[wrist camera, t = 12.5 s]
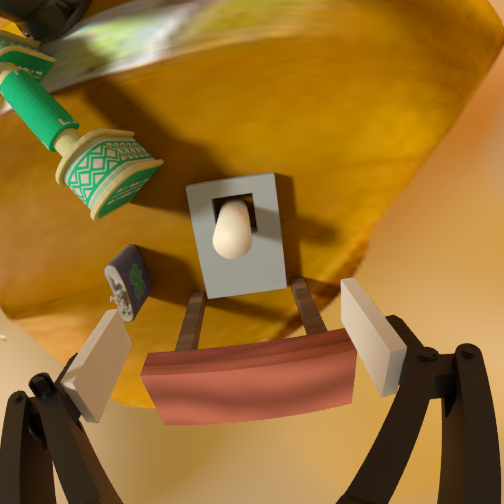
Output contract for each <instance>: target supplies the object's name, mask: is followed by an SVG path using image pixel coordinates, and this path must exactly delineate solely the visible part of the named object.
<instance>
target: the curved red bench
mask: <svg viewBox="0 0 504 504" xmlns="http://www.w3.org/2000/svg"><path fill="white" fill-rule="evenodd" d="M290 280H291V290H292V293H293V296H294V299H295V301H296V304H297V307H298V310H299V313H300V316H301V319H302V322H303V325H304V328H305V330H306V333H307V335H305V336H299V337H293V338H286V339H280V340H273V341H266V342H259V343H252V344H244V345H236V346H227V347H218V348H208V349H197V348H198V343H199V337H200V332H201V326H202V321H203V316H204V311H205V305H206V298H205V294H204V291H197V292H192V293H191V297H190V300H189V303H188V307H187V310H186V314H185V317H184V320H183V324H182V327H181V331H180V334H179V338H178V342H177V345H176V349H175V351H172V352H156V353H148V355H147V358H146V361H145V363H144V366H143V369H142V371H141V374H140V377H141V379H142V381H143V383H144V385H145V387H146V389H147V391H148V393H149V395H150V397H151V399H152V401H153V403H154V405H155V407H156V409H157V410H158V412H159V414H160V416H161V418H162V420H163V421H164V423H165V425H200V424H221V423H235V422H246V421H255V420H264V419H272V418H279V417H285V416H292V415H298V414H304V413H309V412H314V411H320V410H325V409H329V408H334V407H338V406H343V405H347V404H351V402H352V394H353V386H354V378H355V367H356V358H357V349H356V348H355V346H354V344H353V342H352V340H351V338H350V336H349V334H348V333H347V331H346V329H345V328H342V329H337V330H332V331H327V329H326V327H325V325H324V322H323V320H322V318H321V316H320V313H319V311H318V309H317V307H316V305H315V302H314V300H313V298H312V296H311V294H310V292H309V289H308V287H307V285H306V283H305V281H304V279H303V277H298V278H291V279H290Z"/></svg>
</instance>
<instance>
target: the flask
mask: <svg viewBox="0 0 504 504" xmlns="http://www.w3.org/2000/svg"><path fill="white" fill-rule="evenodd" d="M104 274H105V277H106V278H107V280H108V283H109V284H110V286H111V289H112V291H113V294H114V296H111V297H110V298H111V300H110V301H111V302H112V300H115V303H116V304H117V305H118V310H119V313H120V315H121V318H122V320H124V321H125V322H127V323H128V322H132V321H133V320H134V319H135V317H136V315H137V313H138V312H139V310H140V308H141V306H142V305H143V303H144V302H145V300H146V298H147V296H148V295H149V293H150V292H151V284H150V279H149V274H148V271H147V269H146V266H145V263H144V261H143V259H142V256H141V254H140V251H139V250H138V248H137V247H136V246H135V245H127V246H126V247H125V248H124V249H123V250H122V251H121V252H120V253H119V254H118V255H117V256H116V257H115V258H114V259H113V260H112V261H111V262H110V263H108V264H107V265H106V267H105V269H104Z"/></svg>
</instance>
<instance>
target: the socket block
mask: <svg viewBox="0 0 504 504" xmlns="http://www.w3.org/2000/svg"><path fill="white" fill-rule="evenodd" d="M186 193H187V198H188V204H189V209H190V215H191V220H192V225H193V230H194V235H195V240H196V245H197V250H198V255H199V260H200V264H201V269H202V274H203V278H204V283H205V287H206V292H207V296H208V299H211V298H219V297H226V296H234V295H241V294H249V293H256V292H263V291H270V290H277V289H283V288H287V284H286V274H285V264H284V254H283V245H282V236H281V227H280V218H279V210H278V201H277V193H276V185H275V177H274V173H273V172H266V173H259V174H251V175H244V176H237V177H231V178H224V179H218V180H212V181H206V182H200V183H194V184H189V185H188V186H186ZM247 193H252V196H253V203H254V211H255V218H256V225H257V227H252V228H251V234H252V245H251V248H250V250H249V251H248V253H247V254H245V255H244V256H243V257H241V258H238V259H227V258H224V257H222V256H221V255H219V254H218V253H217V251H216V250H215V248H214V246H213V235H214V231H215V228H216V224H217V215H216V209H215V204H214V198H220V197H227V196H233V195H240V194H247Z"/></svg>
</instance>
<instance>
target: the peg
mask: <svg viewBox="0 0 504 504" xmlns="http://www.w3.org/2000/svg"><path fill="white" fill-rule="evenodd" d="M251 245H252V234H251V227H250V220H249V213H248V207H247V205H246V203H245V202H244V201H242V200H241V199H238V198H230V199H228V200H226V201H225V202H224V203H223V205H222V207H221V210H220V214H219V217H218V221H217V224H216V228H215V231H214V235H213V246H214V248H215V250H216V251H217V253H218V254H219V255H221V256H222V257H224V258H227V259H238V258H241V257H243V256H244V255H245V254H247V253H248V251H249V250H250V248H251Z"/></svg>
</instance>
